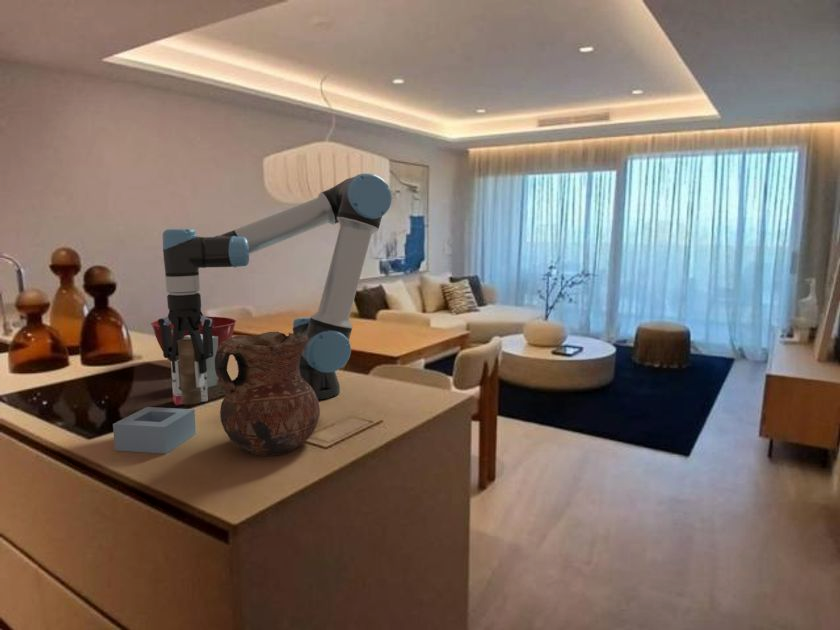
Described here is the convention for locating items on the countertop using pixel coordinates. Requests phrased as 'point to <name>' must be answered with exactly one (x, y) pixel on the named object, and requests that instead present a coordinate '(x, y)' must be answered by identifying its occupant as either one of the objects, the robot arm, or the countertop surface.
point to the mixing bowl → (219, 328)
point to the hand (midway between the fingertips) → (190, 385)
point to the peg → (188, 372)
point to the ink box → (178, 394)
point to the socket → (154, 430)
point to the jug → (266, 393)
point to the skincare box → (210, 363)
